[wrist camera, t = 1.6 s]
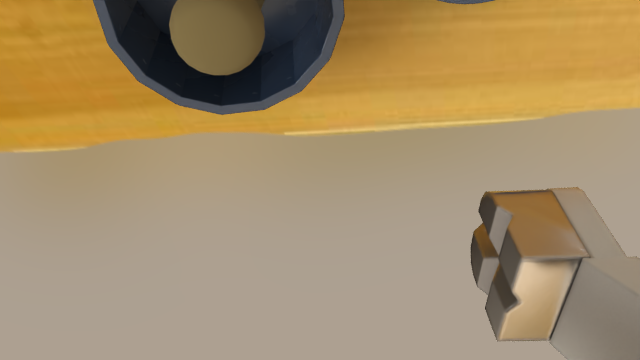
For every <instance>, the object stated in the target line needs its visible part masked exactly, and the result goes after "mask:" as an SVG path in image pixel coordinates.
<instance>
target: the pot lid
mask: <svg viewBox="0 0 640 360" xmlns="http://www.w3.org/2000/svg"><path fill="white" fill-rule="evenodd" d="M438 1H443V2H447V3H456V4H475V3H483V2H489V1H494V0H438Z"/></svg>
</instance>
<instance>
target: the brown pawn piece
mask: <svg viewBox="0 0 640 360" xmlns="http://www.w3.org/2000/svg"><path fill="white" fill-rule="evenodd" d="M264 1H265V0H177V1H176V3H175V5H174V6H173V9H172V12H171V17H170V22H169V27H170V34H171V40H172V43H173V45H174V47H175V49H176V51H177V53H178V55H179V56H180V57H181V58H182V59H183V60H184V61H185V62H186V63H187V64H188V65H189V66H191V67H193V68H195V69H196V70H198V71H200V72H203V73H207V74H211V75H230V74H233V73H236V72H239V71H241V70H243V69H244V68H246V67H247V66H248V65H250V64H251V63H252V62H253V60H254V59H255V58H256V56H257V55H258V53H259V52H260V50H261V48H262V45H263V41H264V38H265V27H264V17H263V15H262V12H261V9H262V6H263V4H264Z"/></svg>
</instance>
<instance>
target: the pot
mask: <svg viewBox="0 0 640 360" xmlns="http://www.w3.org/2000/svg"><path fill="white" fill-rule="evenodd" d="M176 1H177V0H93V2H94V5H95V8H96V11H97V14H98V17H99V20H100V23H101V26H102V29H103V31H104V34H105V37H106V40H107V43H108V44H109V47H110V48H111V49H112V50H113V51H114V53H115V54H116V55H117V56H118V57H119V59H120V60H121V61H122V62H123V64H124V65H125V66H126V67H127V68H128V70H129V71H130V72H131V73H132V74H133V76H134V77H135V78H136V79H137V80H138V81H139V82H140V83H142V84H144V85H145V86H147V87H149V88H150V89H152V90H154V91H155V92H157V93H159V94H160V95H162V96H164V97H165V98H167V99H169V100H170V101H172V102H174V103H175V104H178V105H180V106H184V107H189V108H193V109H198V110H202V111H207V112H211V113H216V114H221V115H223V114H232V113H241V112H249V111H258V110H265V109H267V108H269V107H271V106H273V105H275V104H277V103H279V102H281V101H283V100H285V99H287V98H289V97H291V96H293V95H295V94H297V93H299V92H301V91H302V90H303V89H304V88H305V87H306V85H307V84H308V83H309V82H310V81H311V80H312V79H313V78H314V77H315V75H316V74H317V73H318V72H319V71H320V70H321V69H322V68H323V66H324V65H325V64H326V63H327V62H328V61H329V60H330V58H331V55H332V52H333V50H334V47H335V44H336V41H337V38H338V35H339V32H340V29H341V26H342V23H343V20H344V17H345V15H344V1H343V0H265V1H264V4H263V6H262V9H261V12H262V15H263V17H264V27H265V38H264V41H263V45H262V48H261V50H260V52H259V53H258V55H257V56H256V58H255V59H254V60H253V62H252V63H251V64H250V65H248V66H247V67H246V68H244V69H243V70H241V71H239V72H236V73H233V74H230V75H211V74H207V73H203V72H200V71H198V70H196V69H195V68H193V67H191V66H189V65H188V64H187V63H186V62H185V61H184V60H183V59H182V58H181V57H180V56H179V55H178V53H177V51H176V49H175V47H174V45H173V43H172V40H171V34H170V27H169V22H170V17H171V12H172V9H173V6H174V5H175V3H176Z"/></svg>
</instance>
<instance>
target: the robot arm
mask: <svg viewBox="0 0 640 360" xmlns="http://www.w3.org/2000/svg"><path fill="white" fill-rule="evenodd" d="M479 213H480V216H481V218H482V221H483V223H482V224H481V225H480V226H479V227H478V228H477V229H476V230H475V231H474V233H473V238H472V243H471V265H472V270H473V275H474V278H475V281H476V284H477V287H478V288H480V289H481V290H482V291H483V292H485V293H486V294H487V295H488V299H487V302H486V306H485V310H486V312H487V315H488V318H489V321H490V323H491V326H492V329H493V331H494V334H495V337H496V340H497V341H542V340H543V341H546V340H550V344H551V345H552V346H553V347H554V348H555V349H557V350H558V351H559V352H560V353H561V354H562V355H563V356H564V357H565V358H566V359H567V360H640V258H638V257H627V256H626V255H625V253H624V252H623V250H622V249H621V247H620V246H619V244H618V242H617V241H616V239H615V238H614V236H613V235H612V233H611V232H610V230H609V229H608V227H607V226H606V224H605V223H604V221H603V220H602V218H601V217H600V215H599V214H598V212H597V210H596V209H595V207H594V206H593V204H592V203H591V201H590V200H589V198H588V197H587V195H586V194H585V192H584V191H583V190H581V189H579V188H578V187H573V188H554V189H546V190H521V191H492V192H485V194H484V195H483V197H482V199H481V203H480V207H479Z"/></svg>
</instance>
